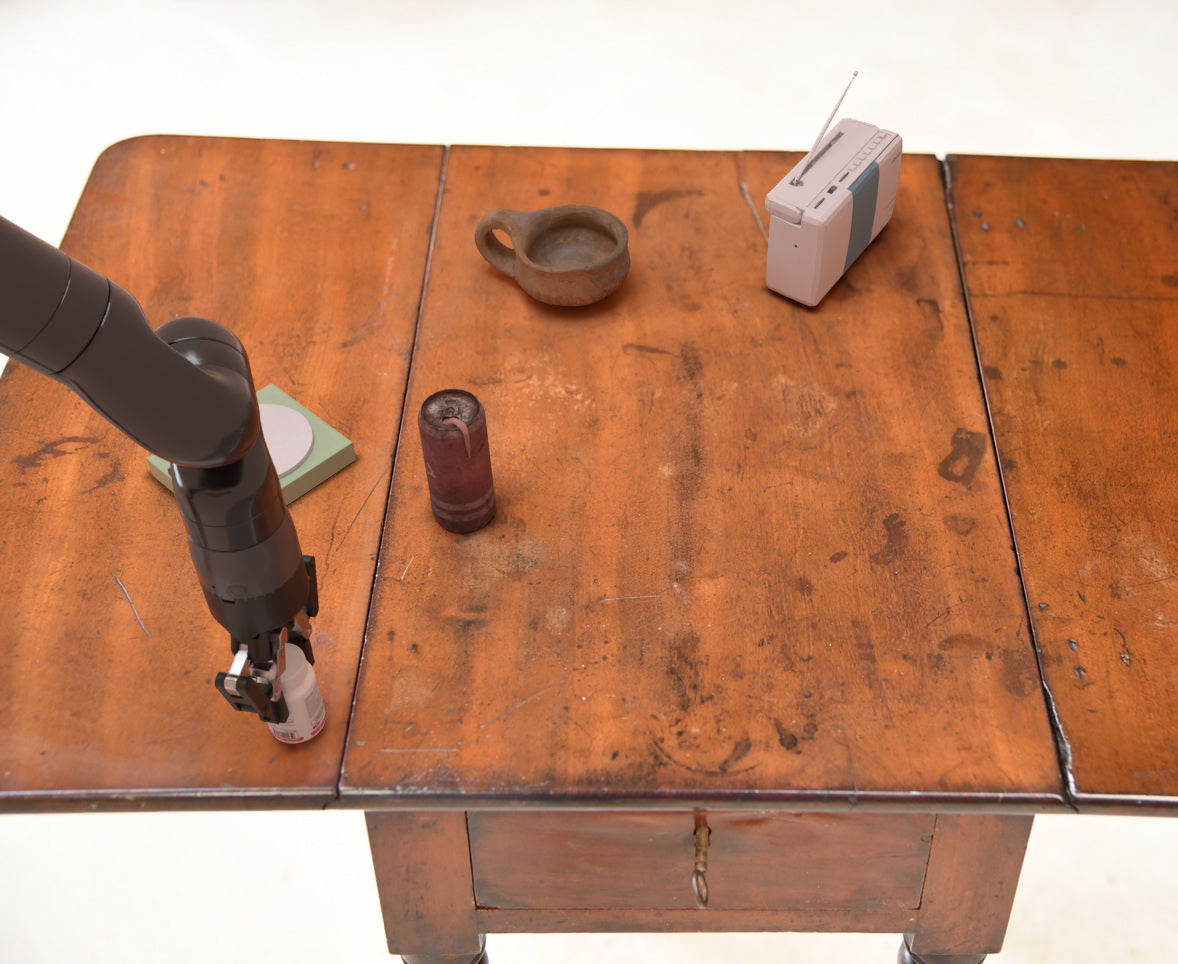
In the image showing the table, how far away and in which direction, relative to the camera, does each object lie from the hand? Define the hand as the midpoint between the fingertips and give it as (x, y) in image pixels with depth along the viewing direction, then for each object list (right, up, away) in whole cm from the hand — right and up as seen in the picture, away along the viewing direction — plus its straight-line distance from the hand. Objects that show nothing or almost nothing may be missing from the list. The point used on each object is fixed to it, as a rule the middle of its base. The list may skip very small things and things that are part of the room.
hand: (288, 691), depth 115 cm
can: (+11, +14, +22) cm, 28 cm away
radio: (+48, +44, +52) cm, 84 cm away
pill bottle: (0, -3, +3) cm, 5 cm away
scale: (-11, +19, +25) cm, 33 cm away
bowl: (+16, +40, +47) cm, 63 cm away
